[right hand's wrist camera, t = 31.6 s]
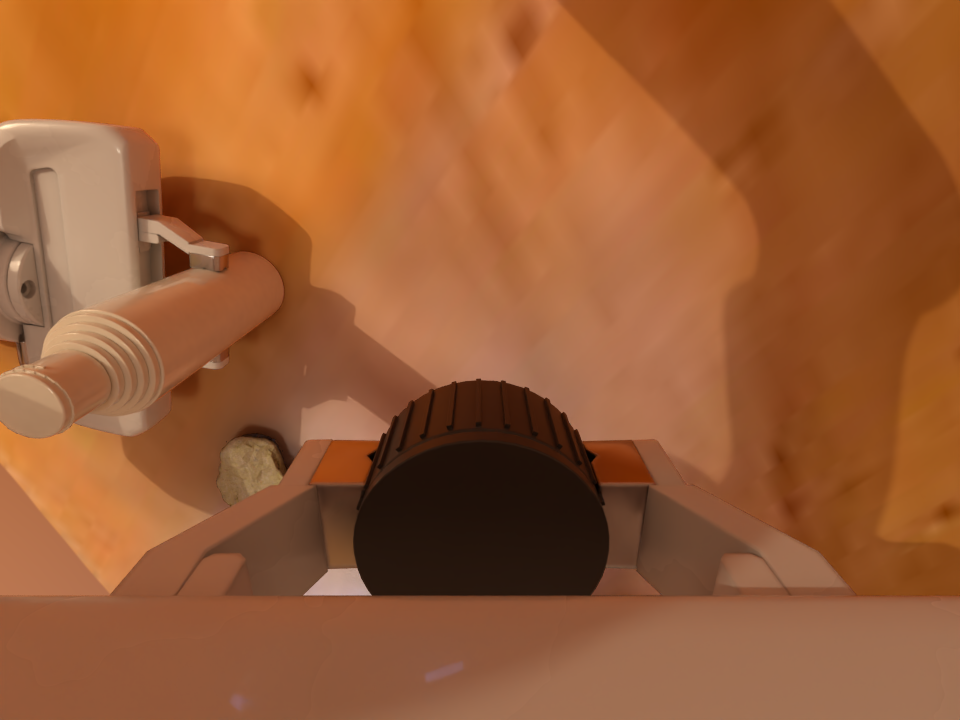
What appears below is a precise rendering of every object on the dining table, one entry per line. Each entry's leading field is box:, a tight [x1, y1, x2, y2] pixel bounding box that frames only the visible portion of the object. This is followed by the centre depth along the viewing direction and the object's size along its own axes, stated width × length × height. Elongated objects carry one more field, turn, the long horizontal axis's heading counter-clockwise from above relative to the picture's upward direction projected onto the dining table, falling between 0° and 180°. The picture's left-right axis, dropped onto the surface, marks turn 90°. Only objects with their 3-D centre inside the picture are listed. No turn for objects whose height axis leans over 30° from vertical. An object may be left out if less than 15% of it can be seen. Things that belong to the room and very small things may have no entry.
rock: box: [216, 434, 287, 507], centre depth 43 cm, size 11×6×10 cm
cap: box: [353, 379, 610, 596], centre depth 9 cm, size 4×4×2 cm
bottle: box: [0, 251, 284, 438], centre depth 29 cm, size 5×5×20 cm
